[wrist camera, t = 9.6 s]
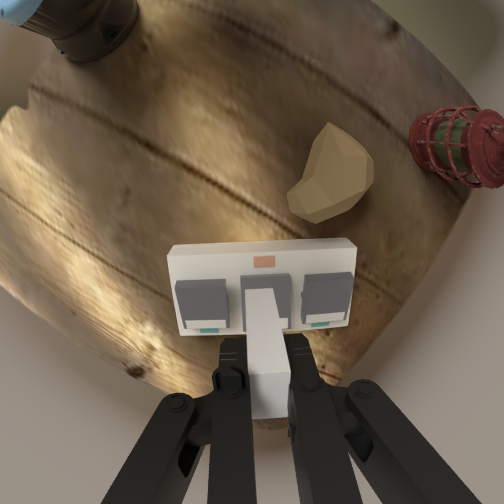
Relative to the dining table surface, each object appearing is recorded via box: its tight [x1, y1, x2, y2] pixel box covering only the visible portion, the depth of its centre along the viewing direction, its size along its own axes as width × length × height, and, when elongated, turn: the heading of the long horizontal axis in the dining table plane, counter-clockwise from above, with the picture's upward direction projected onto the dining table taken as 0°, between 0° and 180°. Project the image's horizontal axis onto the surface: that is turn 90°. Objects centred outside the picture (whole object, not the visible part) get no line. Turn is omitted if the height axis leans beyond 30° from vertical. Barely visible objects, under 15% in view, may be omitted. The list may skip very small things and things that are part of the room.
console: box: [167, 238, 357, 335], centre depth 47 cm, size 14×28×6 cm, turn 92°
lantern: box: [409, 105, 504, 189], centre depth 28 cm, size 12×12×30 cm
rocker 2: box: [300, 272, 355, 324], centre depth 43 cm, size 8×7×2 cm
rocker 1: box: [174, 279, 230, 329], centre depth 42 cm, size 8×7×2 cm
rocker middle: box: [240, 273, 291, 332], centre depth 42 cm, size 8×7×2 cm
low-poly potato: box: [286, 122, 374, 224], centre depth 39 cm, size 15×11×12 cm
